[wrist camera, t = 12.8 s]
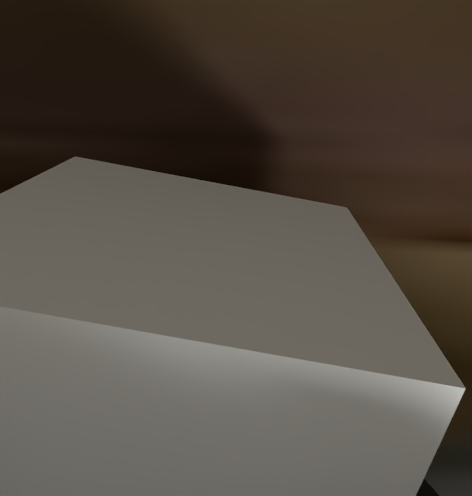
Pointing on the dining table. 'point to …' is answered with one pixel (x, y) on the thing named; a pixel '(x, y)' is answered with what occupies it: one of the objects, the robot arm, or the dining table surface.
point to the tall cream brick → (205, 344)
